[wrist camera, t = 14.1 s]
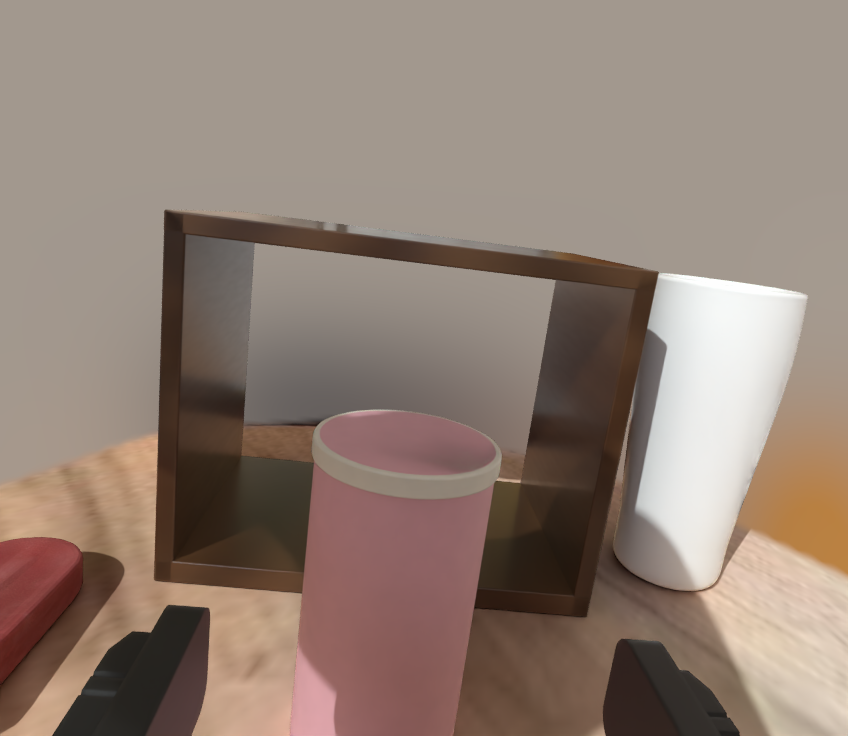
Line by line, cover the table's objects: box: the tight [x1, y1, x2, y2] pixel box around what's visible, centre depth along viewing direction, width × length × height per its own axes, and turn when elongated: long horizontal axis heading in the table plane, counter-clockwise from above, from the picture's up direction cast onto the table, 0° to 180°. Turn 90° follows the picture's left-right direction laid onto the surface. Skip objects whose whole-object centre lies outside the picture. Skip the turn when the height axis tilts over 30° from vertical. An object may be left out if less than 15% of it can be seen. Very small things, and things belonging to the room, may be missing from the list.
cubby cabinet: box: [154, 210, 659, 617], centre depth 31 cm, size 19×12×15 cm, turn 93°
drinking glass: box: [613, 273, 808, 591], centre depth 31 cm, size 7×7×15 cm
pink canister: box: [290, 410, 502, 736], centre depth 19 cm, size 5×5×10 cm
